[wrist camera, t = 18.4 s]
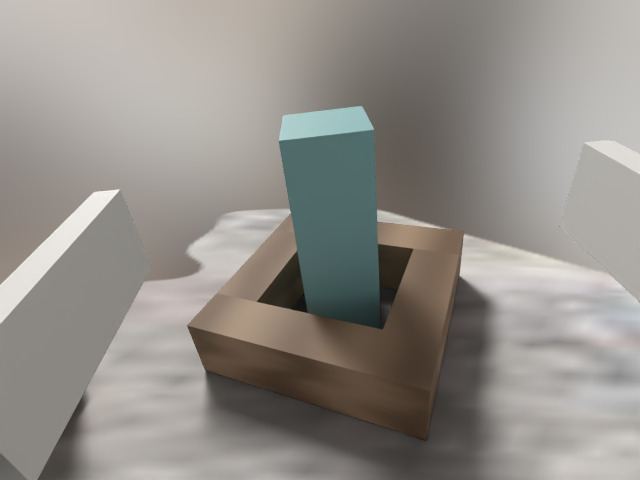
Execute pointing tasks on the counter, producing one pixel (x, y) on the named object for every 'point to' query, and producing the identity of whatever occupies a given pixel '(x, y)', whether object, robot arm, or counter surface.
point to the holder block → (339, 330)
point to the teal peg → (334, 211)
